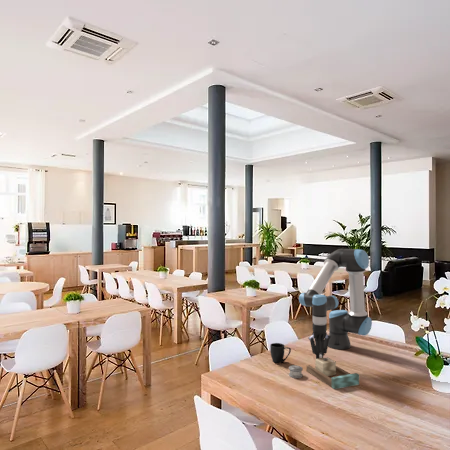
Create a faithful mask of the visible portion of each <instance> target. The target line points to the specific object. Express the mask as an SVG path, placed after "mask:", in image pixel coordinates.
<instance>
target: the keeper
mask: <svg viewBox="0 0 450 450" xmlns="http://www.w3.org/2000/svg"><path fill="white" fill-rule="evenodd" d="M314 365H315V367H314V368H315V369H317V370H318V371H320V372H321V373H323V374H325V375H326V376H328V377H330V376H331V377H332V376H337V374H336V366H337V364H336V361H335V360H334V359H332V358H330V357H328V356H327V357H326V356H325V357H323V358H319V359H316V358H314Z"/></svg>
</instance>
